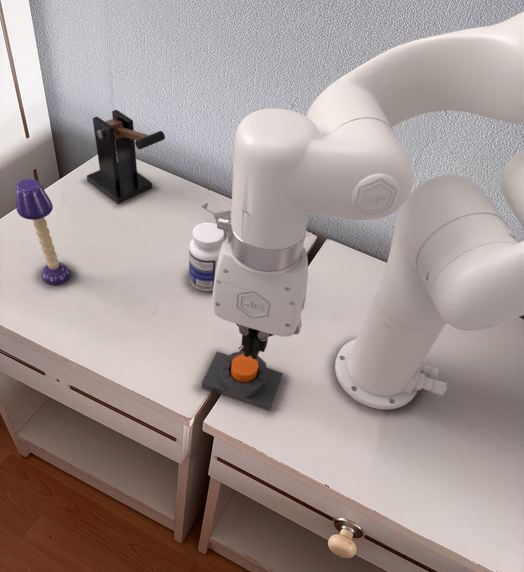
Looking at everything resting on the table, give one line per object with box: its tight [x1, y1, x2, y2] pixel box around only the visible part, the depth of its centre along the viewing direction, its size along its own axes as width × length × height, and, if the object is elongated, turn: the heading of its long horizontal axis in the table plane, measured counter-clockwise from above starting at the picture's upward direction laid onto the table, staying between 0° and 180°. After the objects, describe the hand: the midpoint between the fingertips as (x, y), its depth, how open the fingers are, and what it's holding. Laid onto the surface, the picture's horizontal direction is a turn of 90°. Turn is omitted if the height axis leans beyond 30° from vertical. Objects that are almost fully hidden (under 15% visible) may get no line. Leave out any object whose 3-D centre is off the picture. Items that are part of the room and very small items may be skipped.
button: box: [231, 354, 258, 383], centre depth 70 cm, size 4×4×2 cm
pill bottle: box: [188, 221, 224, 292], centre depth 80 cm, size 6×6×10 cm
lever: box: [104, 118, 166, 150], centre depth 86 cm, size 12×5×2 cm, turn 48°
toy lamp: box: [15, 178, 71, 286], centre depth 74 cm, size 5×5×17 cm
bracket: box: [86, 109, 153, 205], centre depth 92 cm, size 9×8×13 cm
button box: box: [200, 350, 284, 412], centre depth 71 cm, size 10×6×3 cm, turn 73°
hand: (253, 349), depth 67 cm, fingers closed
